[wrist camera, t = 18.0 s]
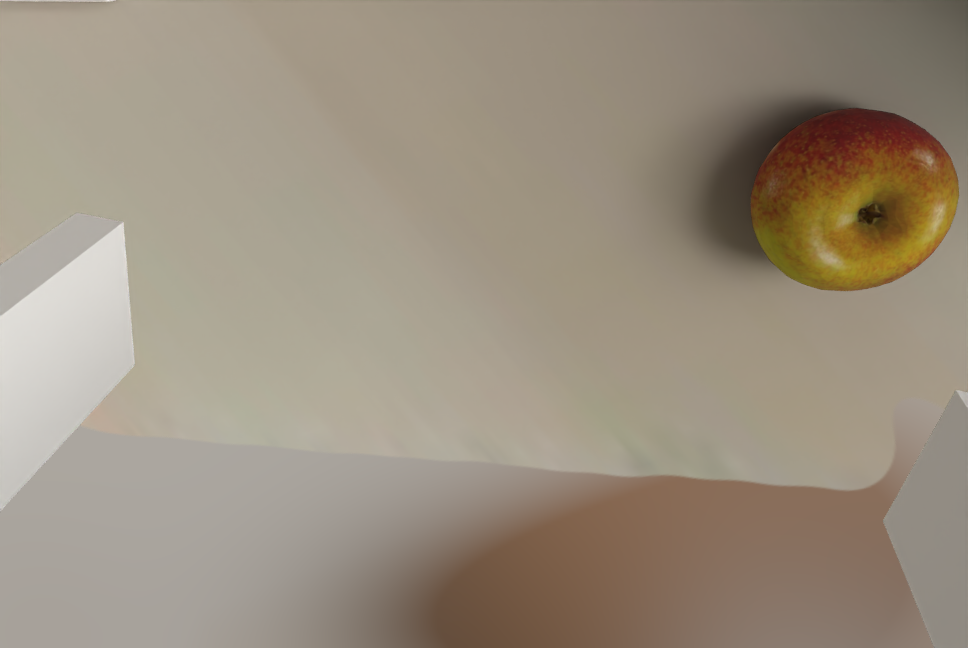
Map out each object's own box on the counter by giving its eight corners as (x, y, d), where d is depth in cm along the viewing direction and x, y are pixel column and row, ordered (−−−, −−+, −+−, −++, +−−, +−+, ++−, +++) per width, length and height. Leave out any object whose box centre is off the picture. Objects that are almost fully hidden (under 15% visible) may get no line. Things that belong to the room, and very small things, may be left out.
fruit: (927, 74, 42) (992, 115, 35) (926, 237, 46) (985, 302, 39) (732, 113, 44) (757, 158, 37) (748, 265, 48) (773, 332, 41)
